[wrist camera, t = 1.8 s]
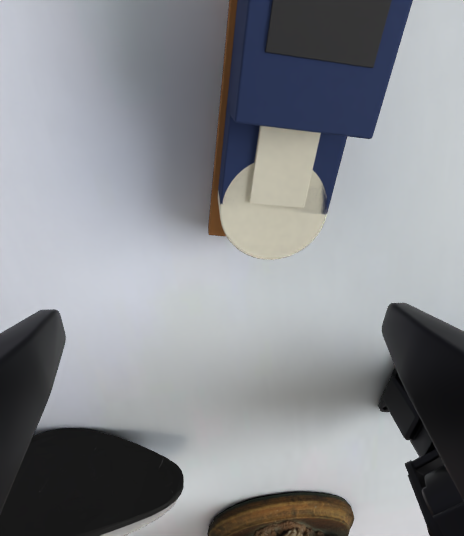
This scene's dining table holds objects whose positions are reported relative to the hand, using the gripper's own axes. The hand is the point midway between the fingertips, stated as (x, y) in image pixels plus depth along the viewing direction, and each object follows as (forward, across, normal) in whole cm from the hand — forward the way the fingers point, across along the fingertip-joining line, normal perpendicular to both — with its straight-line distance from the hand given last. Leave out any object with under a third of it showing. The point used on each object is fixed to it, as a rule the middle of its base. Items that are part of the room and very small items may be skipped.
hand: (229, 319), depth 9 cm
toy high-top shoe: (+13, -3, -5) cm, 14 cm away
